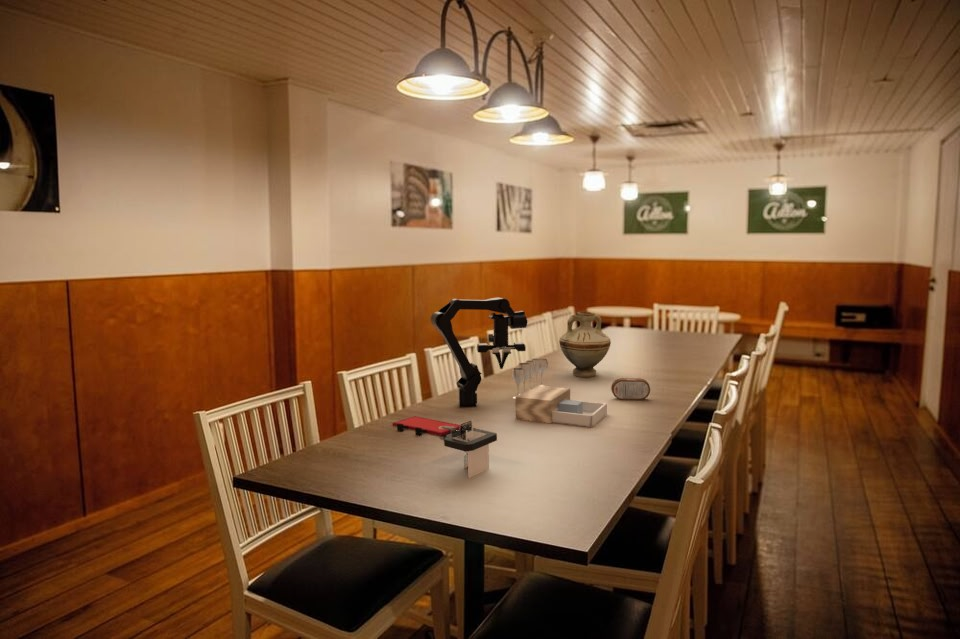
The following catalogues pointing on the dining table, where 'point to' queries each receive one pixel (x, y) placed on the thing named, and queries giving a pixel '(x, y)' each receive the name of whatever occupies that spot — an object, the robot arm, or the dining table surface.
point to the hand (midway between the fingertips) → (501, 368)
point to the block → (571, 406)
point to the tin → (630, 389)
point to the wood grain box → (540, 403)
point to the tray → (582, 415)
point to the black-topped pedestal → (472, 446)
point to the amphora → (584, 344)
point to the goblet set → (529, 371)
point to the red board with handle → (426, 426)
